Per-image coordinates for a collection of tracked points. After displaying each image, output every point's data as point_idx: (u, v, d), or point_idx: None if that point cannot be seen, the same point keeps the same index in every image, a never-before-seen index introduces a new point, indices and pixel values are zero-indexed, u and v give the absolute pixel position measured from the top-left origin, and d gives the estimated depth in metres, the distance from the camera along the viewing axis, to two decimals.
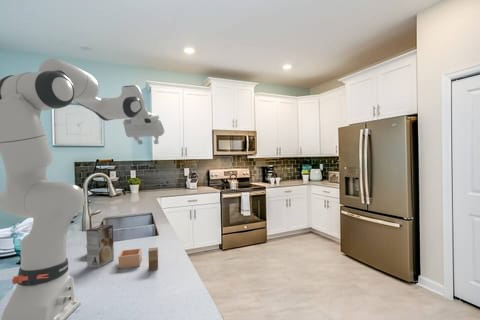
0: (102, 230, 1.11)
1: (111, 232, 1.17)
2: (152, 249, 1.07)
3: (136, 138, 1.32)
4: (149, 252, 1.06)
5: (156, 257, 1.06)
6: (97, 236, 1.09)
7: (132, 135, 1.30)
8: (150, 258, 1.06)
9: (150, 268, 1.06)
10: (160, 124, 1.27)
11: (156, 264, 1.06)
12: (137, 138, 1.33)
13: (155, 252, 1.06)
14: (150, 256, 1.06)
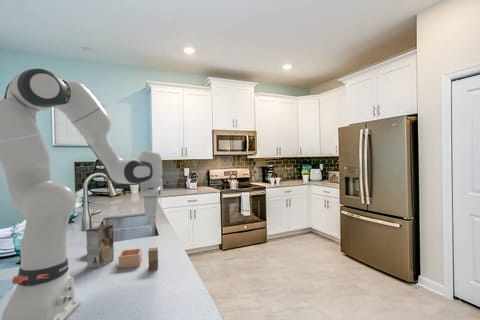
0: (102, 230, 1.11)
1: (111, 232, 1.17)
2: (152, 249, 1.07)
3: None
4: (149, 252, 1.06)
5: (156, 257, 1.06)
6: (97, 236, 1.09)
7: None
8: (150, 258, 1.06)
9: (150, 268, 1.06)
10: (152, 202, 0.99)
11: (156, 264, 1.06)
12: None
13: (155, 252, 1.06)
14: (150, 256, 1.06)
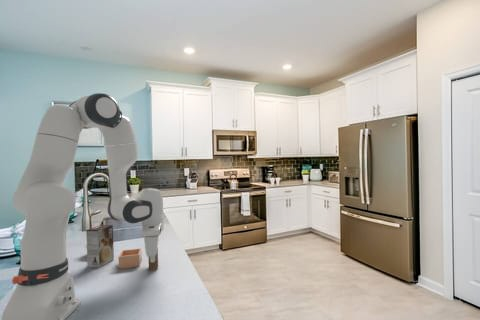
0: (102, 230, 1.11)
1: (111, 232, 1.17)
2: None
3: None
4: None
5: (156, 257, 1.06)
6: (97, 236, 1.09)
7: None
8: None
9: (150, 268, 1.06)
10: (152, 242, 0.99)
11: (156, 264, 1.06)
12: None
13: None
14: None
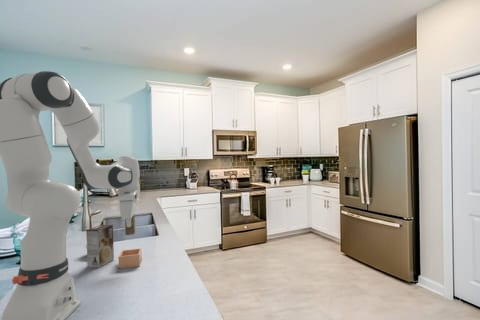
0: (102, 230, 1.11)
1: (111, 232, 1.17)
2: None
3: None
4: None
5: (132, 223, 1.12)
6: (97, 236, 1.09)
7: None
8: None
9: (127, 233, 1.11)
10: (127, 206, 1.04)
11: (132, 229, 1.12)
12: None
13: (131, 218, 1.11)
14: None
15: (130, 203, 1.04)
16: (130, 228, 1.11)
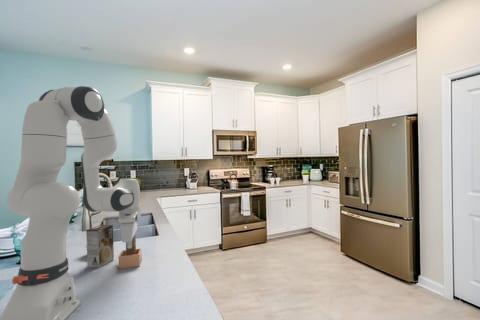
0: (102, 230, 1.11)
1: (111, 232, 1.17)
2: None
3: None
4: None
5: (133, 243, 1.12)
6: (97, 236, 1.09)
7: None
8: None
9: (127, 254, 1.11)
10: (128, 229, 1.04)
11: (133, 250, 1.12)
12: None
13: (132, 239, 1.12)
14: None
15: (131, 226, 1.05)
16: (131, 249, 1.12)
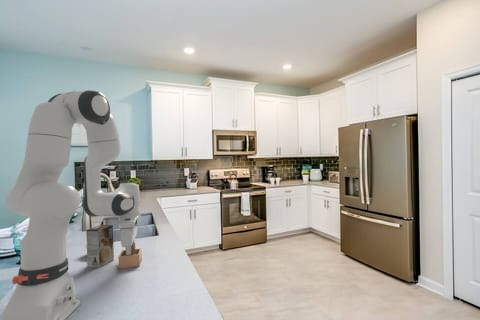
0: (102, 230, 1.11)
1: (111, 232, 1.17)
2: None
3: None
4: None
5: (133, 252, 1.11)
6: (97, 236, 1.09)
7: None
8: None
9: None
10: (128, 234, 1.04)
11: None
12: (132, 240, 1.18)
13: (132, 247, 1.11)
14: None
15: (130, 230, 1.04)
16: None
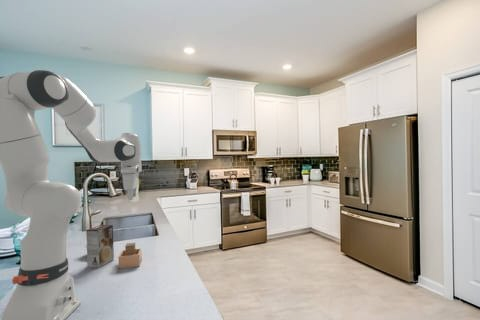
0: (102, 230, 1.11)
1: (111, 232, 1.17)
2: (129, 244, 1.12)
3: None
4: (126, 247, 1.11)
5: (133, 252, 1.11)
6: (97, 236, 1.09)
7: None
8: (127, 253, 1.11)
9: None
10: (129, 178, 1.11)
11: None
12: (134, 189, 1.25)
13: (132, 247, 1.11)
14: (127, 251, 1.11)
15: (132, 175, 1.11)
16: None
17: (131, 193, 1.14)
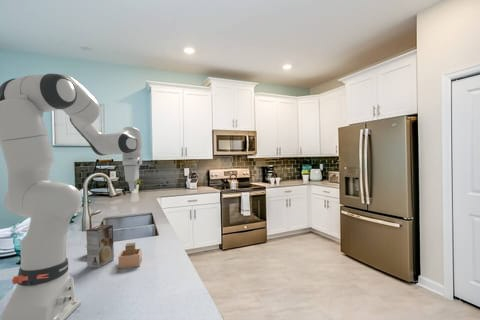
0: (102, 230, 1.11)
1: (111, 232, 1.17)
2: (129, 244, 1.12)
3: None
4: (126, 247, 1.11)
5: (133, 252, 1.11)
6: (97, 236, 1.09)
7: None
8: (127, 253, 1.11)
9: None
10: (131, 170, 1.15)
11: None
12: (135, 182, 1.30)
13: (132, 247, 1.11)
14: (127, 251, 1.11)
15: (133, 167, 1.16)
16: None
17: (132, 184, 1.19)
